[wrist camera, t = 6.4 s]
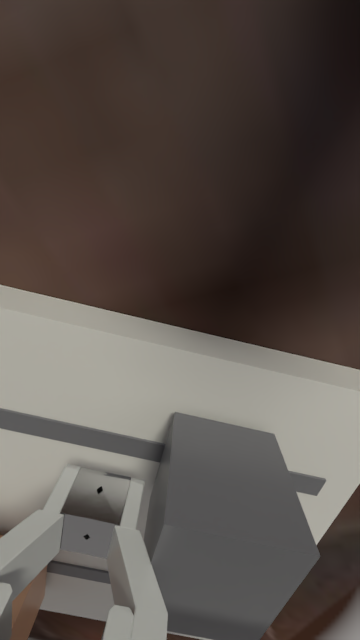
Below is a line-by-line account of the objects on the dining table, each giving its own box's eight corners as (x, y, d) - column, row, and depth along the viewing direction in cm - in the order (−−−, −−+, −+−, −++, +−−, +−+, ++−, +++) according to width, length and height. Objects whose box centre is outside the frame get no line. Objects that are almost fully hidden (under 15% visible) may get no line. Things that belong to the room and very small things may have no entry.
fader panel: (-41, 551, 18) (-70, 591, 16) (-76, 266, 11) (-135, 277, 9) (239, 605, 19) (244, 649, 17) (379, 374, 12) (417, 406, 10)
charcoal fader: (150, 497, 12) (130, 624, 8) (174, 411, 10) (163, 524, 6) (235, 515, 12) (253, 647, 8) (274, 433, 10) (320, 556, 7)
